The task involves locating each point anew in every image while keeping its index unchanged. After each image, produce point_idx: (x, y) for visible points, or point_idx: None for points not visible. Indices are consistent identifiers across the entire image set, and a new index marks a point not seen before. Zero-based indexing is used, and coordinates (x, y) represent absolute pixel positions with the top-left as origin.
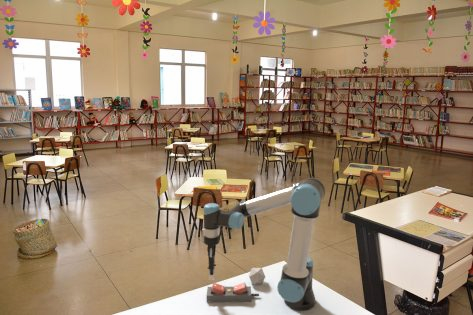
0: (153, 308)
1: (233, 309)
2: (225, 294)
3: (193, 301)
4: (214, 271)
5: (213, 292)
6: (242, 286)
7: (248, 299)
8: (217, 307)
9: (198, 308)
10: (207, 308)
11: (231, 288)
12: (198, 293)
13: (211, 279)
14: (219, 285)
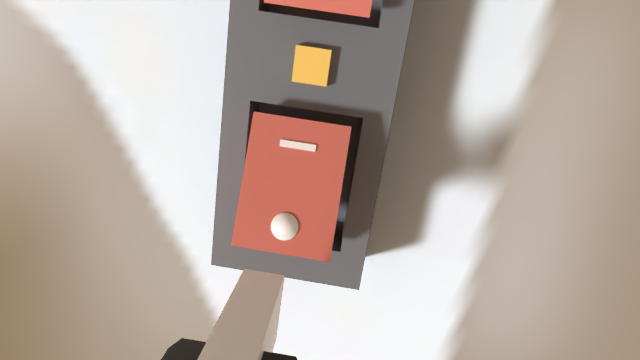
0: None
1: (520, 47)
2: (373, 113)
3: (332, 346)
4: (237, 353)
5: None
6: None
7: None
8: (452, 184)
9: (430, 321)
10: (446, 261)
11: (267, 31)
12: None
13: (277, 316)
14: (262, 175)
